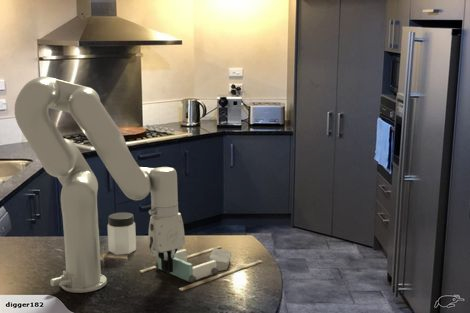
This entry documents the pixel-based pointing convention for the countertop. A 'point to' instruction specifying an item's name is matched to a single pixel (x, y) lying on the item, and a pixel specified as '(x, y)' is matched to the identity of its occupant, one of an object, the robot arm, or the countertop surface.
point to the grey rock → (220, 258)
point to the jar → (121, 233)
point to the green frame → (189, 267)
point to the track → (210, 277)
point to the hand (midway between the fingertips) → (167, 271)
